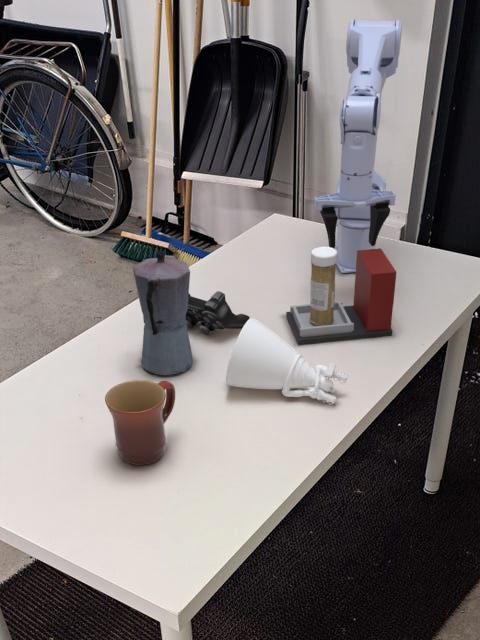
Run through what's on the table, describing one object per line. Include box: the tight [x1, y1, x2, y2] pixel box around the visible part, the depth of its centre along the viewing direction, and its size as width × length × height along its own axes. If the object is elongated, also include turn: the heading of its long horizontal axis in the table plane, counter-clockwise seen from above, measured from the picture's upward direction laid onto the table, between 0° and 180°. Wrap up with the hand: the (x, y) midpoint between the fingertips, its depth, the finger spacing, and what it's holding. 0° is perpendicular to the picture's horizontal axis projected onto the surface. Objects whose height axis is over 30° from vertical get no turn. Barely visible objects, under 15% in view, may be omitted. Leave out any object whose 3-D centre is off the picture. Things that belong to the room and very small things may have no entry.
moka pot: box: [132, 250, 194, 376], centre depth 142 cm, size 10×15×20 cm, turn 174°
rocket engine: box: [225, 317, 349, 406], centre depth 139 cm, size 12×12×18 cm
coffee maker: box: [285, 248, 397, 346], centre depth 154 cm, size 11×17×12 cm, turn 99°
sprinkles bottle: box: [309, 246, 337, 326], centre depth 152 cm, size 5×5×13 cm
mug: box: [104, 379, 176, 466], centre depth 127 cm, size 12×9×10 cm
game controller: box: [185, 290, 251, 335], centre depth 156 cm, size 16×7×10 cm, turn 55°
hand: (351, 245), depth 159 cm, fingers open, 7 cm apart
